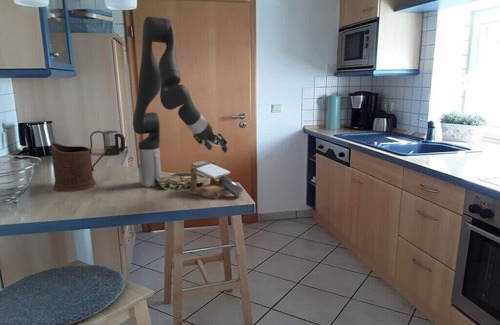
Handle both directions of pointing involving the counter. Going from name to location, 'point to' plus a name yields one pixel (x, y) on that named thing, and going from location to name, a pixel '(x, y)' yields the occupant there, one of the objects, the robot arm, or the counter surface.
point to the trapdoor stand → (207, 186)
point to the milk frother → (113, 142)
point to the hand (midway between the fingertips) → (218, 149)
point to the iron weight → (230, 186)
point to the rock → (179, 180)
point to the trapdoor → (210, 169)
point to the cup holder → (73, 167)
